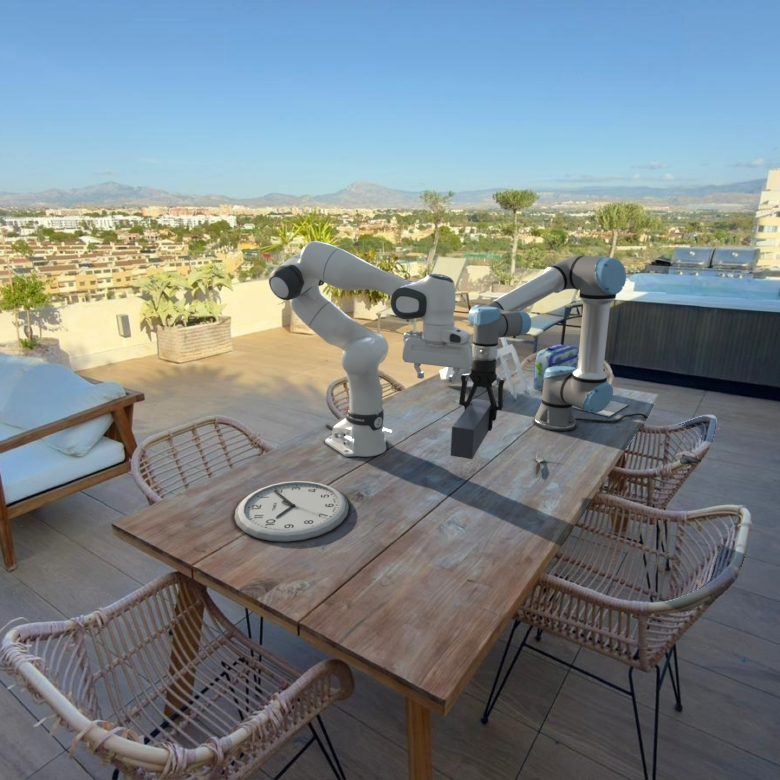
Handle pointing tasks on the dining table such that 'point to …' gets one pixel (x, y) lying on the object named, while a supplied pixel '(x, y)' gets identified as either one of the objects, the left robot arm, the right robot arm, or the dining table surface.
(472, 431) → the box
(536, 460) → the fork
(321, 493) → the wall clock
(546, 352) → the lunch box
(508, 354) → the white plastic object
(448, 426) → the dining table surface
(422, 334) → the left robot arm
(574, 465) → the dining table surface
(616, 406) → the invitation card
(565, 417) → the right robot arm
